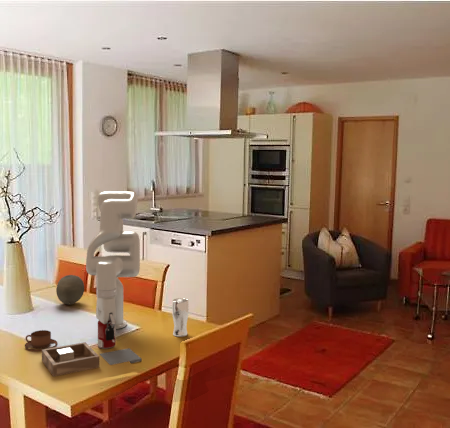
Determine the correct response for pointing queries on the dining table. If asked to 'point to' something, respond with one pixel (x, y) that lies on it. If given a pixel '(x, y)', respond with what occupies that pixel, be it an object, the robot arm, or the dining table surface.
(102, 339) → the soda can
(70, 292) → the cantaloupe
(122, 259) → the robot arm
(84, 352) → the walnut crate
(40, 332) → the cup and saucer
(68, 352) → the metal block
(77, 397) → the dining table surface
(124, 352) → the slate mat
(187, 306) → the beer glass
